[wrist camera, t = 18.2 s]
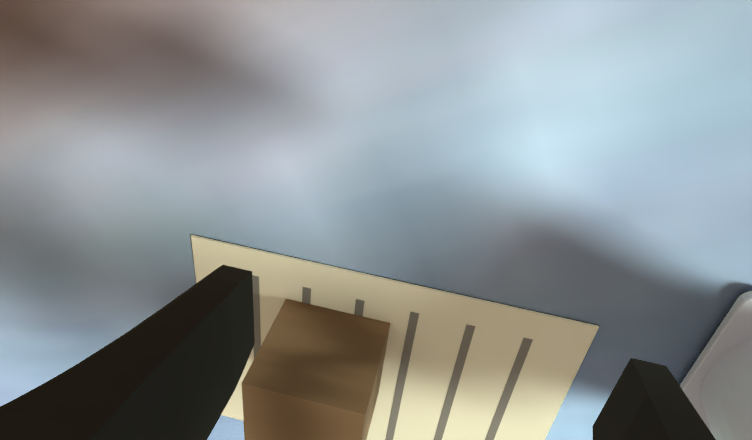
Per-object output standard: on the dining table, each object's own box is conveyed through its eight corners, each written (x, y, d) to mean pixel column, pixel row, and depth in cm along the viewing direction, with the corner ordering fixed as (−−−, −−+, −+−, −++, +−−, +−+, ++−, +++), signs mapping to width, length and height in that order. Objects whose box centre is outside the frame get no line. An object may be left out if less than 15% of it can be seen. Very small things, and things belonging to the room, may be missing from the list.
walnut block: (390, 323, 25) (365, 415, 21) (378, 392, 28) (354, 485, 24) (285, 298, 25) (241, 383, 21) (284, 368, 28) (245, 455, 24)
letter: (598, 325, 22) (598, 327, 22) (518, 491, 30) (518, 493, 30) (192, 234, 24) (190, 236, 24) (212, 410, 32) (211, 412, 32)
